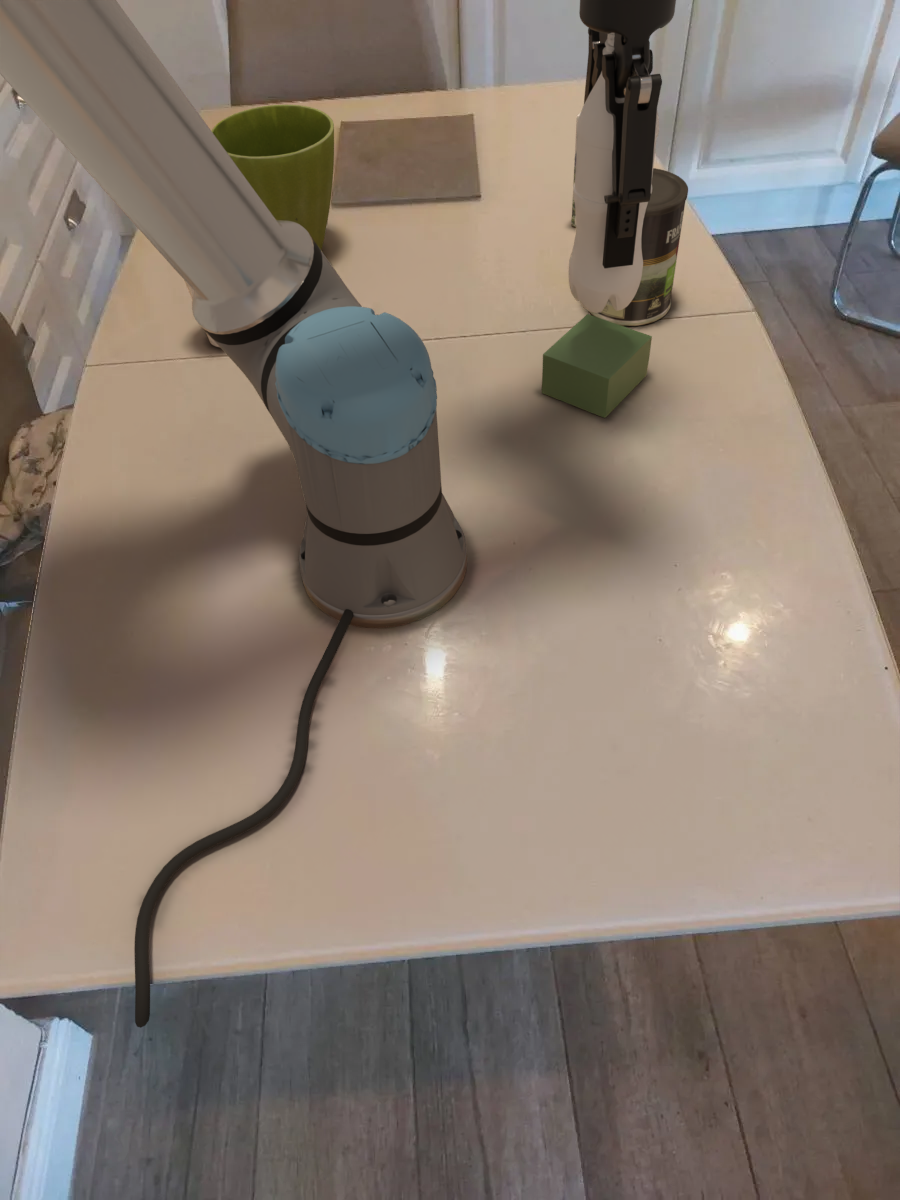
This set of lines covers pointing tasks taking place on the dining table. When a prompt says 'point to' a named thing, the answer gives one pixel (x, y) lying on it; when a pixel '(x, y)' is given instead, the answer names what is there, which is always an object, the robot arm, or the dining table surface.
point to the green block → (595, 365)
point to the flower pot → (285, 160)
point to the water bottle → (599, 209)
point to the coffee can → (655, 253)
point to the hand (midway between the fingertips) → (606, 243)
